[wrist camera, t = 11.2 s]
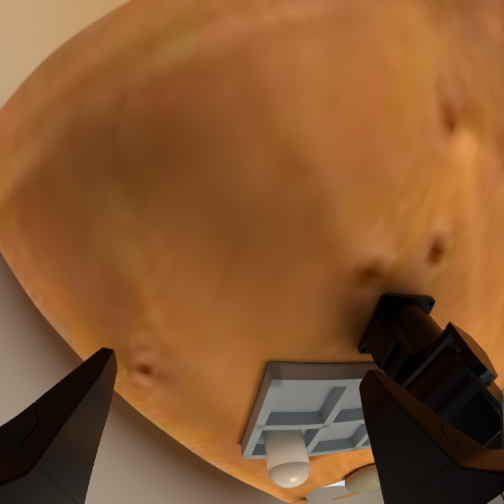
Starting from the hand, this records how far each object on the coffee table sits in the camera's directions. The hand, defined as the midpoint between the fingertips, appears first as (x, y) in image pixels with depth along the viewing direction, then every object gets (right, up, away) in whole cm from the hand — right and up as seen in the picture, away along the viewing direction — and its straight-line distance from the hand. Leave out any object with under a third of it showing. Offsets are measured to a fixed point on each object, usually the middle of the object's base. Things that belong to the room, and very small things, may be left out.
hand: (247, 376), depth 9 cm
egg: (+4, -17, +21) cm, 27 cm away
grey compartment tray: (+12, -15, +21) cm, 28 cm away
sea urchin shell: (+22, -39, +33) cm, 56 cm away
